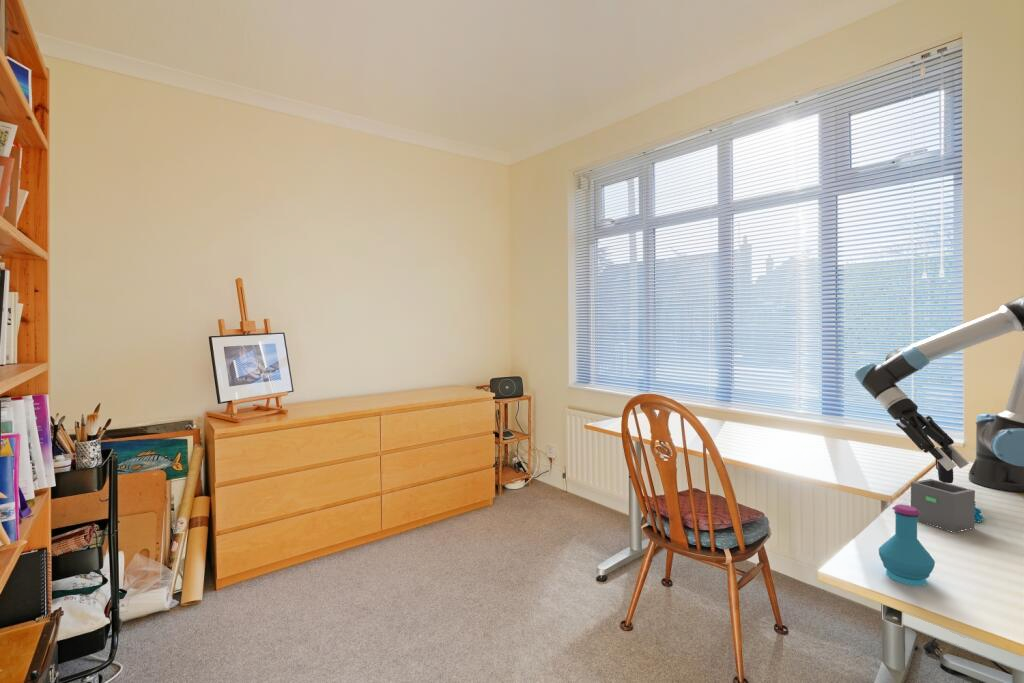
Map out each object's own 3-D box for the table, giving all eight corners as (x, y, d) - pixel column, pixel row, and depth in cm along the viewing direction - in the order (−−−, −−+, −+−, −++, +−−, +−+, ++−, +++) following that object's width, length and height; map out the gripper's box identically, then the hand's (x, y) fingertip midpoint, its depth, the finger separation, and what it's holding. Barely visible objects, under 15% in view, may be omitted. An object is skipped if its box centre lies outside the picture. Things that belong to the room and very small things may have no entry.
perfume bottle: (939, 593, 95) (940, 519, 94) (881, 581, 100) (881, 510, 99) (929, 573, 102) (930, 504, 102) (875, 562, 107) (876, 496, 107)
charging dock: (930, 514, 133) (930, 478, 133) (974, 528, 124) (974, 490, 123) (909, 518, 130) (910, 482, 130) (953, 533, 121) (953, 494, 121)
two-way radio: (954, 484, 141) (952, 434, 140) (934, 482, 144) (932, 433, 143) (953, 479, 145) (951, 430, 144) (933, 477, 148) (931, 429, 147)
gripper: (907, 408, 161) (967, 469, 146) (869, 413, 155) (927, 477, 140) (925, 395, 156) (989, 456, 141) (886, 399, 150) (948, 464, 135)
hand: (958, 466), depth 141 cm, fingers closed on two-way radio, 5 cm apart
